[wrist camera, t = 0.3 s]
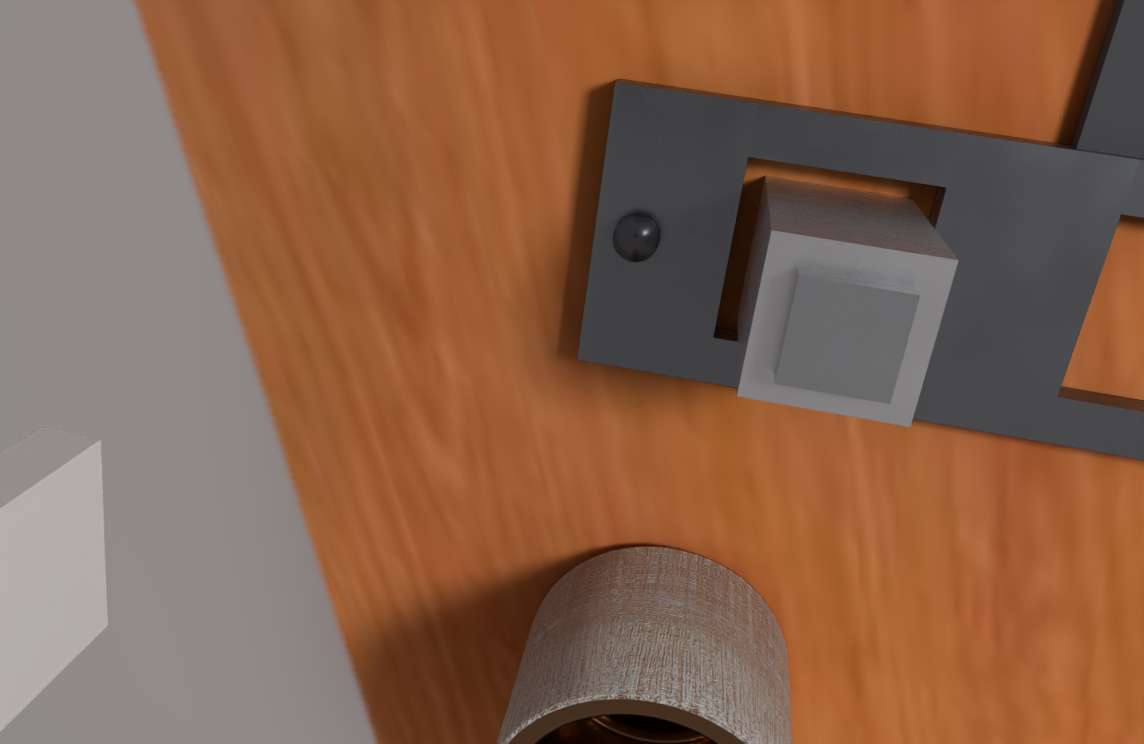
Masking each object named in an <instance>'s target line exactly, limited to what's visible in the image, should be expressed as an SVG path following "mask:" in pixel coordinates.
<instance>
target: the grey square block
mask: <svg viewBox="0 0 1144 744" xmlns="http://www.w3.org/2000/svg"><path fill="white" fill-rule="evenodd" d="M957 264H958V259H957V258H956V256H955V255H954V254H953V252H952V251H951V250H950V248H949V247H948V246H947V245H946V243H945V242H944V241H943V239H942V238H941V237H940V235H939V234H938V233H937V231H936V230H935V229H934V227H933V226H932V225H931V223H930V222H929V221H928V220H927V218H926V217H925V216H924V214H923V213H922V212H921V210H920V209H919V208H918V206H917V205H916V204H915V202H914V201H913V200H912V198H905V197H899V196H893V195H886V194H880V193H873V192H867V191H860V190H854V189H848V188H841V187H835V186H828V185H822V184H815V183H809V182H802V181H796V180H790V179H783V178H777V177H770V176H765V180H764V185H763V190H762V195H761V200H760V204H759V209H758V214H757V219H756V224H755V229H754V234H753V239H752V244H751V249H750V254H749V259H748V264H747V269H746V274H745V279H744V284H743V289H742V294H741V298H740V303H739V308H738V349H737V396H739V397H745V398H750V399H756V400H762V401H767V402H773V403H778V404H784V405H790V406H795V407H801V408H806V409H812V410H818V411H823V412H829V413H835V414H840V415H846V416H851V417H857V418H863V419H868V420H874V421H879V422H885V423H891V424H896V425H902V426H908V427H910V426H911V423H912V420H913V416H914V413H915V409H916V406H917V402H918V399H919V395H920V392H921V388H922V385H923V382H924V378H925V375H926V371H927V368H928V364H929V361H930V357H931V354H932V350H933V347H934V343H935V340H936V337H937V333H938V330H939V326H940V323H941V319H942V316H943V312H944V309H945V305H946V302H947V299H948V295H949V292H950V288H951V285H952V281H953V278H954V274H955V271H956V267H957Z"/></svg>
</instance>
